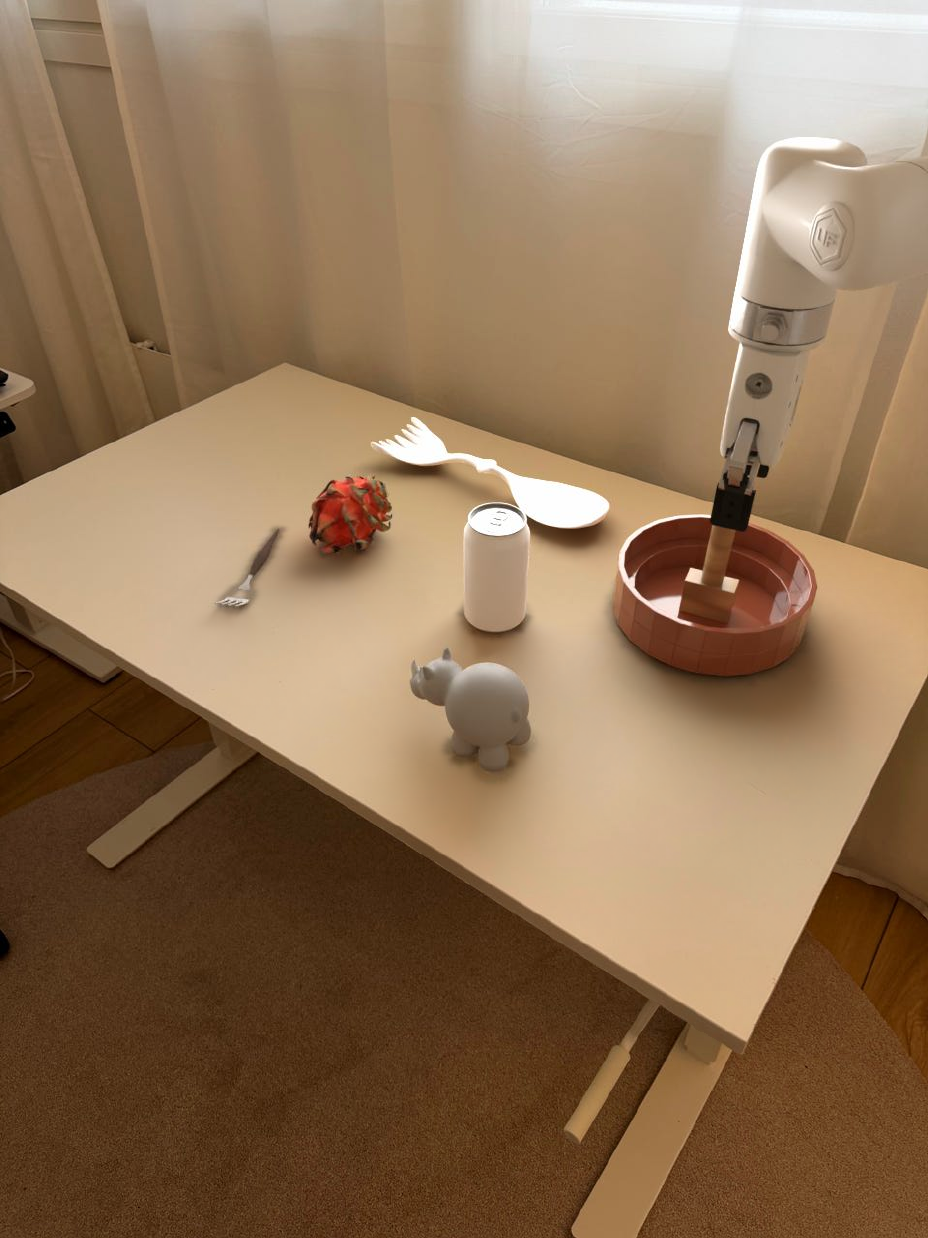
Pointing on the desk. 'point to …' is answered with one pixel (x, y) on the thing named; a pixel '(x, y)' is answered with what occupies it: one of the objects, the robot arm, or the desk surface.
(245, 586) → the fork
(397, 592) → the desk surface
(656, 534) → the bowl
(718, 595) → the wooden stamp
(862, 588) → the desk surface
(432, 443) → the spoon
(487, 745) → the chubby cartoon animal
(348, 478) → the dragon fruit
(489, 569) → the can
